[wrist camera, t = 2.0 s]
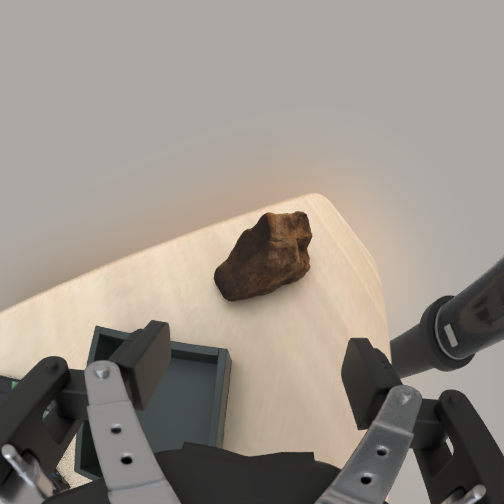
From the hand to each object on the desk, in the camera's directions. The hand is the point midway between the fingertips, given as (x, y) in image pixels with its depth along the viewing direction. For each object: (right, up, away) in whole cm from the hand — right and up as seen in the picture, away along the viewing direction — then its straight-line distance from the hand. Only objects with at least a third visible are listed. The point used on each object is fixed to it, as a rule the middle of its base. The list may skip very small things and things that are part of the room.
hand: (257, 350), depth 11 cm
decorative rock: (+1, +1, +25) cm, 25 cm away
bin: (-11, -15, +15) cm, 24 cm away
